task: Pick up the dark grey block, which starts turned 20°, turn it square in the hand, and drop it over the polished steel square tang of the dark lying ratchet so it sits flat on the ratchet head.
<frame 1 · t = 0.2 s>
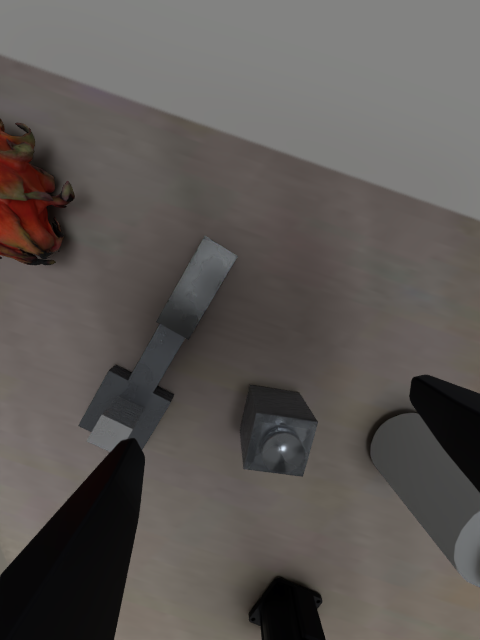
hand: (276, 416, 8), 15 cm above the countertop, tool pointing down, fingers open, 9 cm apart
dark grey block: (269, 411, 25), on the countertop
can: (398, 439, 27), on the countertop
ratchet: (130, 405, 24), on the countertop
dragon fruit: (31, 202, 20), on the countertop
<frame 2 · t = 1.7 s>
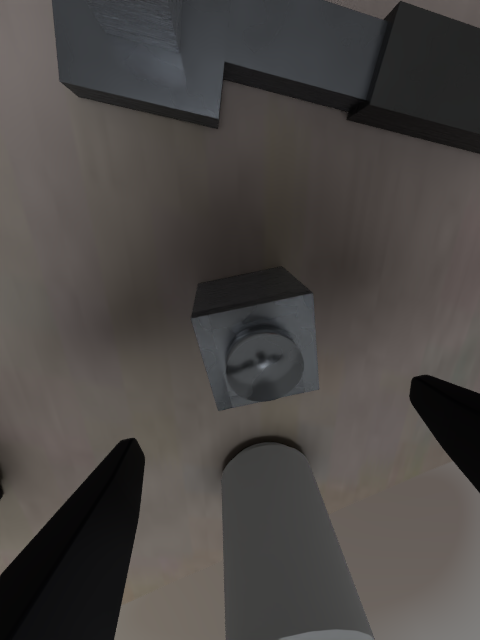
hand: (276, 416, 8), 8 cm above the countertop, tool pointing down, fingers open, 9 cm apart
dark grey block: (247, 313, 16), on the countertop
can: (263, 463, 22), on the countertop
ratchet: (153, 21, 10), on the countertop
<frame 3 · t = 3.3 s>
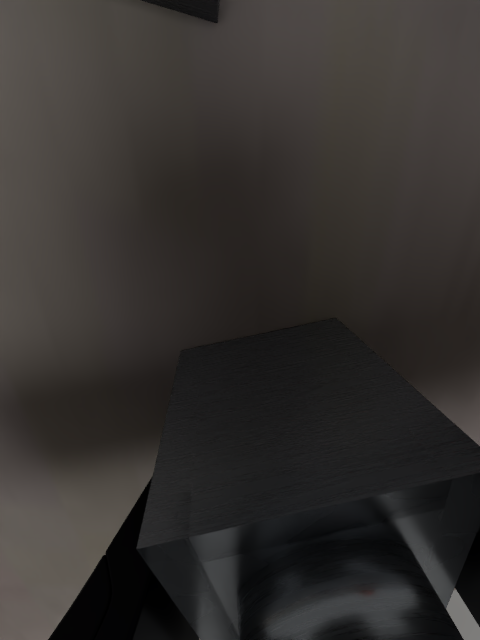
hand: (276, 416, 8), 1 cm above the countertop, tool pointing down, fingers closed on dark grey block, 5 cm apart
dark grey block: (269, 394, 9), on the countertop, touching gripper
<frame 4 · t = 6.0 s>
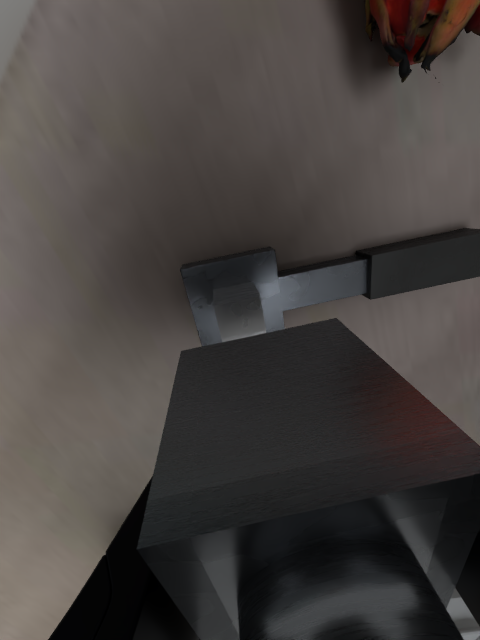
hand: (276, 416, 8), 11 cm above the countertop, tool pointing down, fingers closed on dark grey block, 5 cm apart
dark grey block: (269, 395, 9), point 10 cm above the countertop, touching gripper
can: (362, 485, 29), on the countertop
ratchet: (234, 296, 18), on the countertop
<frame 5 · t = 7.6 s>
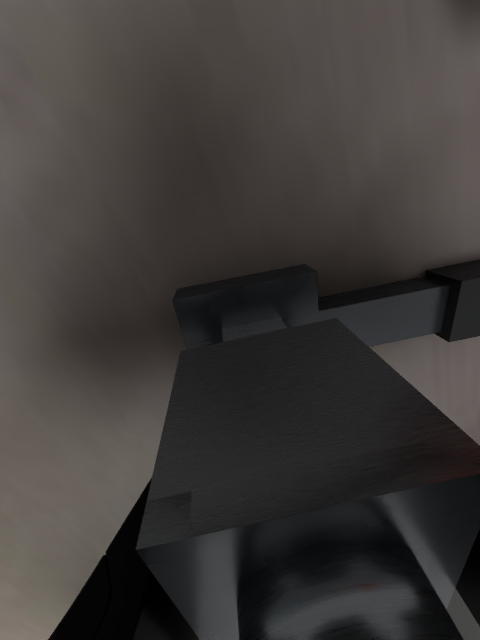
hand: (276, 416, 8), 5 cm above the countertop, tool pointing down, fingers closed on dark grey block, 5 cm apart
dark grey block: (269, 395, 9), point 4 cm above the countertop, touching gripper
can: (396, 545, 24), on the countertop
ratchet: (251, 332, 13), on the countertop
when the fingers open (3 cm above the countertop, at t = 8.9 s): dark grey block drops 1 cm, point 1 cm above the countertop.
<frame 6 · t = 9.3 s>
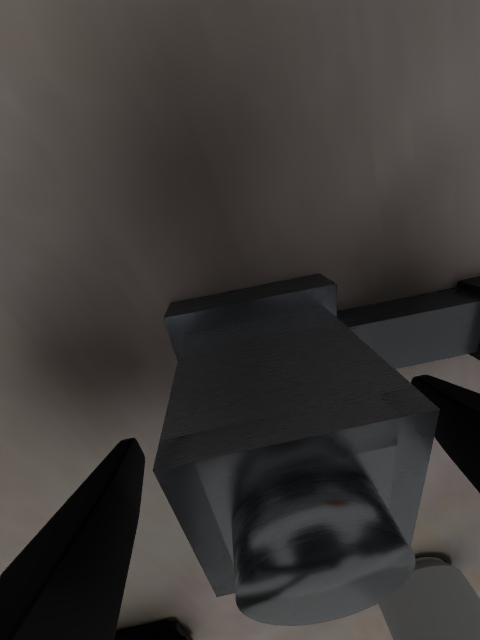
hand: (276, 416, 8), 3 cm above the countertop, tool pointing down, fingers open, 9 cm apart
dark grey block: (263, 376, 10), point 1 cm above the countertop
can: (410, 571, 22), on the countertop
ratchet: (256, 351, 11), on the countertop
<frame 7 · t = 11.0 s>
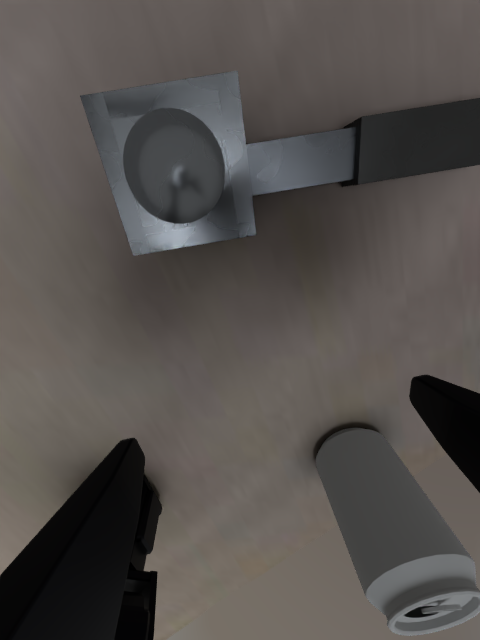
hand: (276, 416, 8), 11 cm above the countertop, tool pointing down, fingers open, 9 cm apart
dark grey block: (191, 184, 13), point 1 cm above the countertop, touching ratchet
can: (346, 446, 26), on the countertop
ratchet: (193, 182, 15), on the countertop, touching dark grey block
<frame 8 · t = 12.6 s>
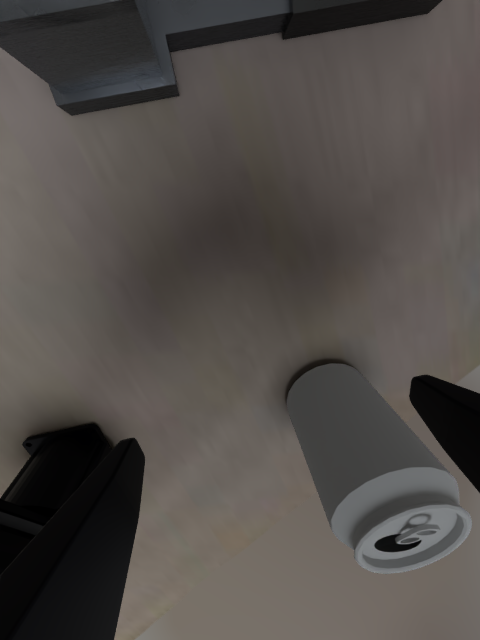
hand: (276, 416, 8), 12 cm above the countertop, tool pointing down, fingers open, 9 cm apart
dark grey block: (91, 13, 11), point 1 cm above the countertop, touching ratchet
can: (321, 389, 24), on the countertop
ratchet: (104, 31, 13), on the countertop, touching dark grey block
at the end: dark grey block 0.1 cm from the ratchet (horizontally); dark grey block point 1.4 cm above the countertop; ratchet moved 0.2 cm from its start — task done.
